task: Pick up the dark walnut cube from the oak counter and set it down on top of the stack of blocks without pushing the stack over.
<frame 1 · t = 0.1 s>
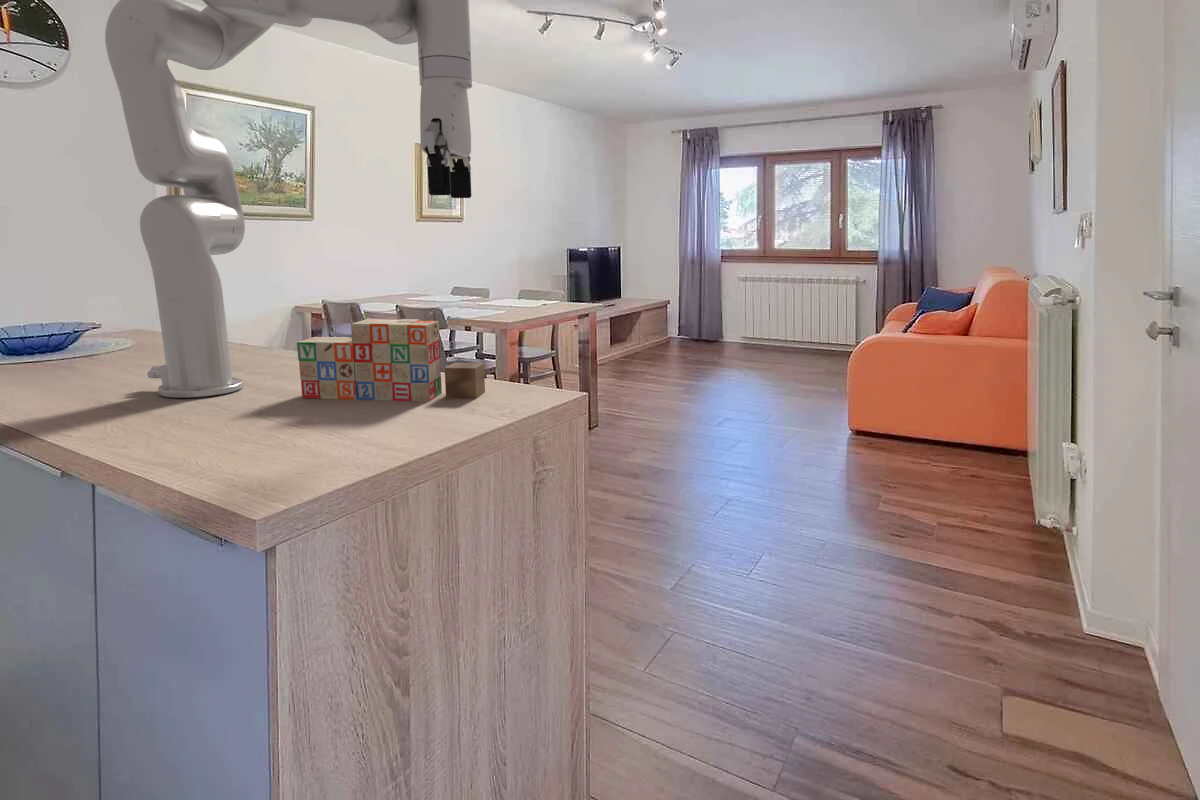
hand: (451, 196, 113), 31 cm above the countertop, fingers open, 9 cm apart
walnut cube: (465, 395, 122), on the countertop
stack of blocks: (373, 397, 121), on the countertop
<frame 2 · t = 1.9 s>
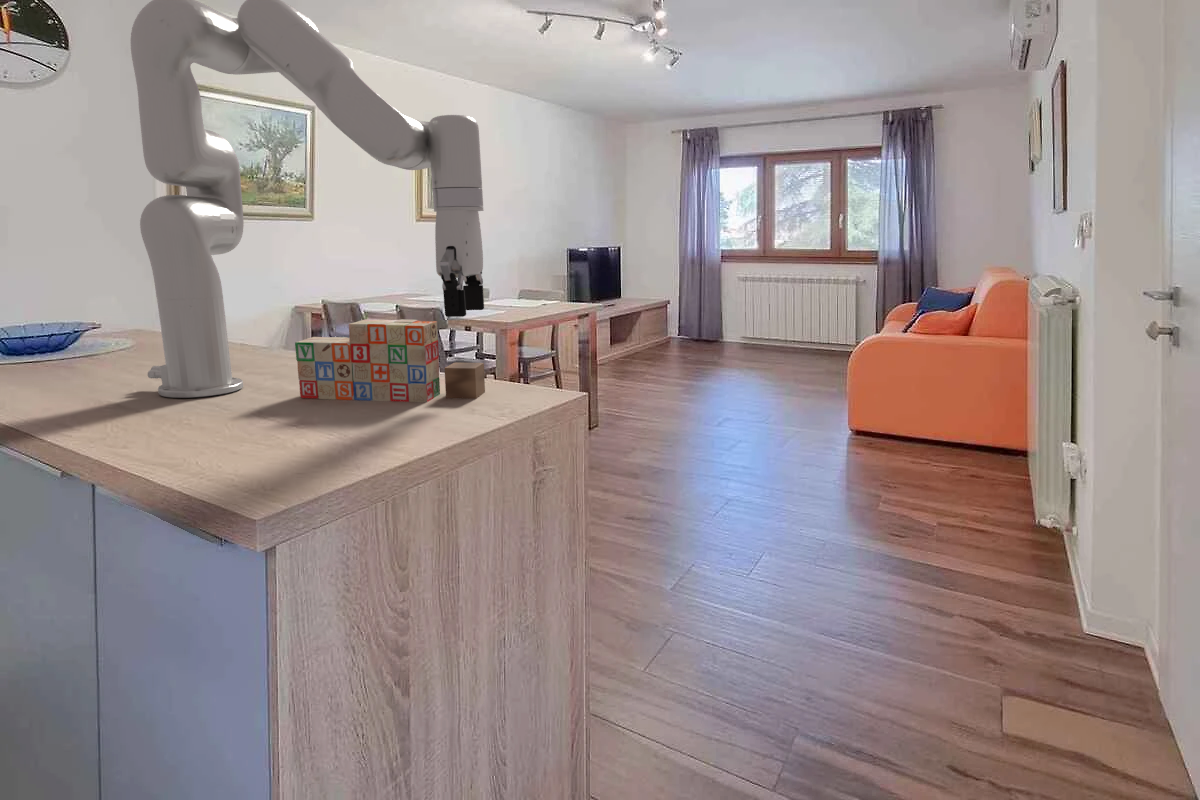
hand: (465, 313, 119), 13 cm above the countertop, fingers open, 9 cm apart
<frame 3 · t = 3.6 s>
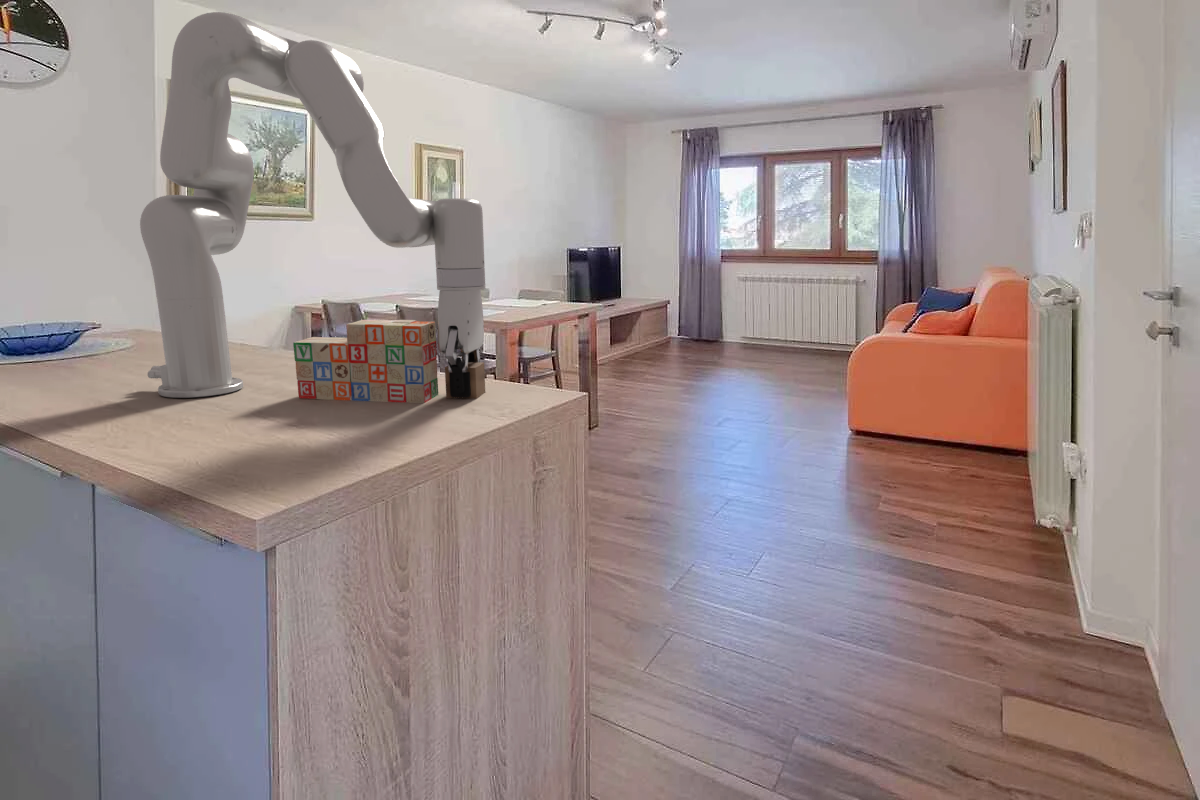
hand: (466, 391, 121), 0 cm above the countertop, fingers closed on walnut cube, 5 cm apart
walnut cube: (466, 395, 122), on the countertop, touching gripper
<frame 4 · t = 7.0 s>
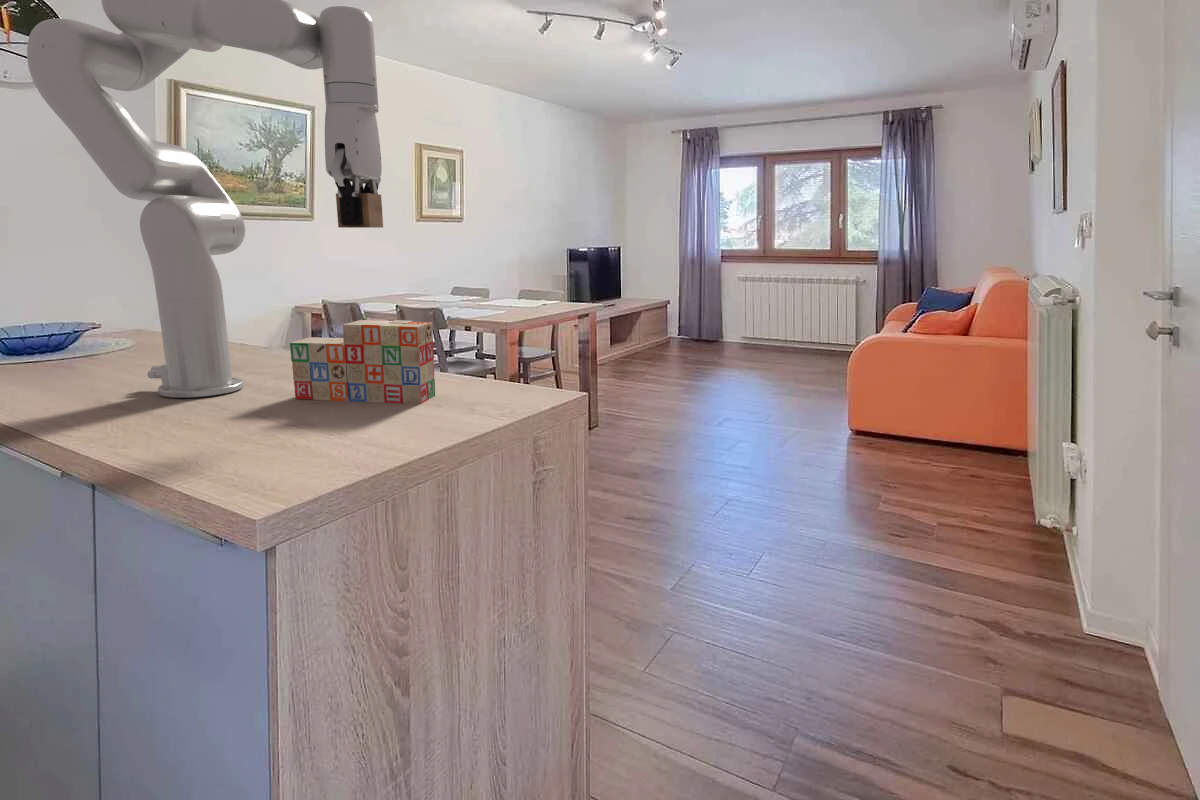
hand: (360, 224, 116), 27 cm above the countertop, fingers closed on walnut cube, 5 cm apart
walnut cube: (361, 227, 116), point 27 cm above the countertop, touching gripper
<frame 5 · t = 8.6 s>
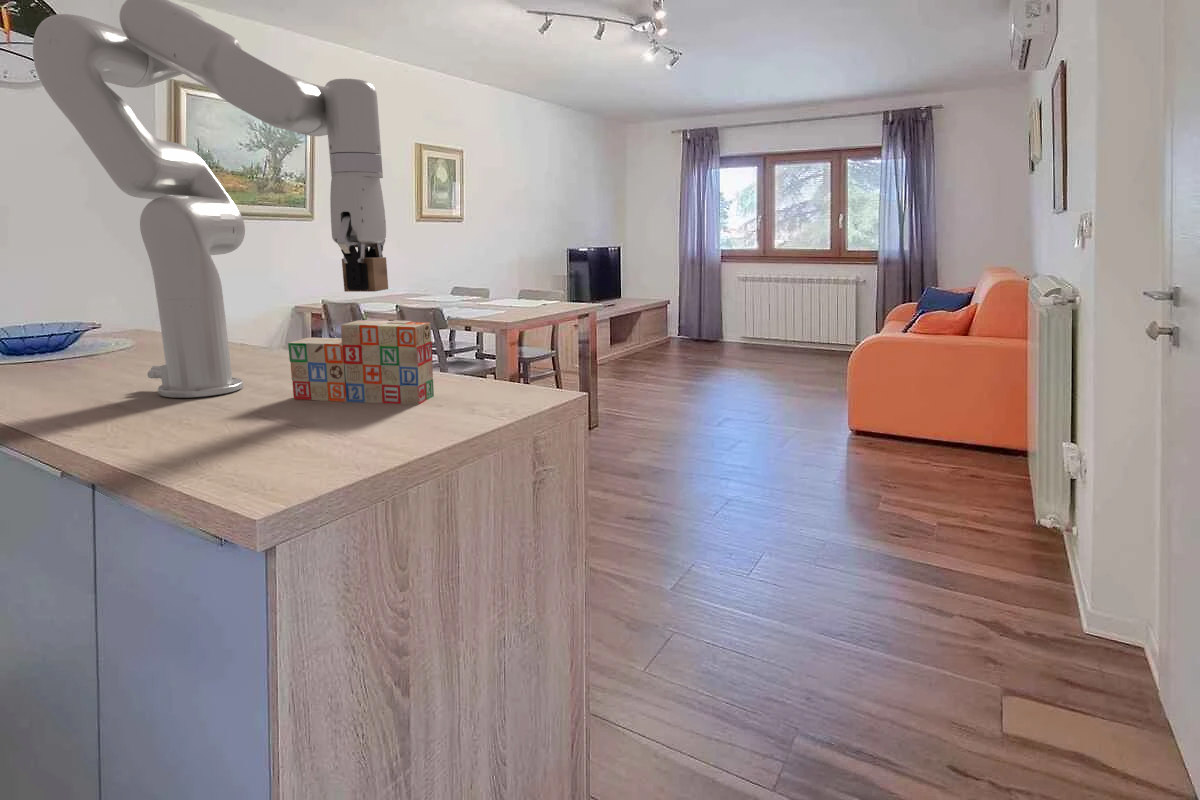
hand: (366, 287, 118), 17 cm above the countertop, fingers closed on walnut cube, 5 cm apart
walnut cube: (366, 290, 118), point 17 cm above the countertop, touching gripper
when the fingers open (14 cm above the countertop, at t = 10.2 s): walnut cube drops 1 cm, resting on stack of blocks.
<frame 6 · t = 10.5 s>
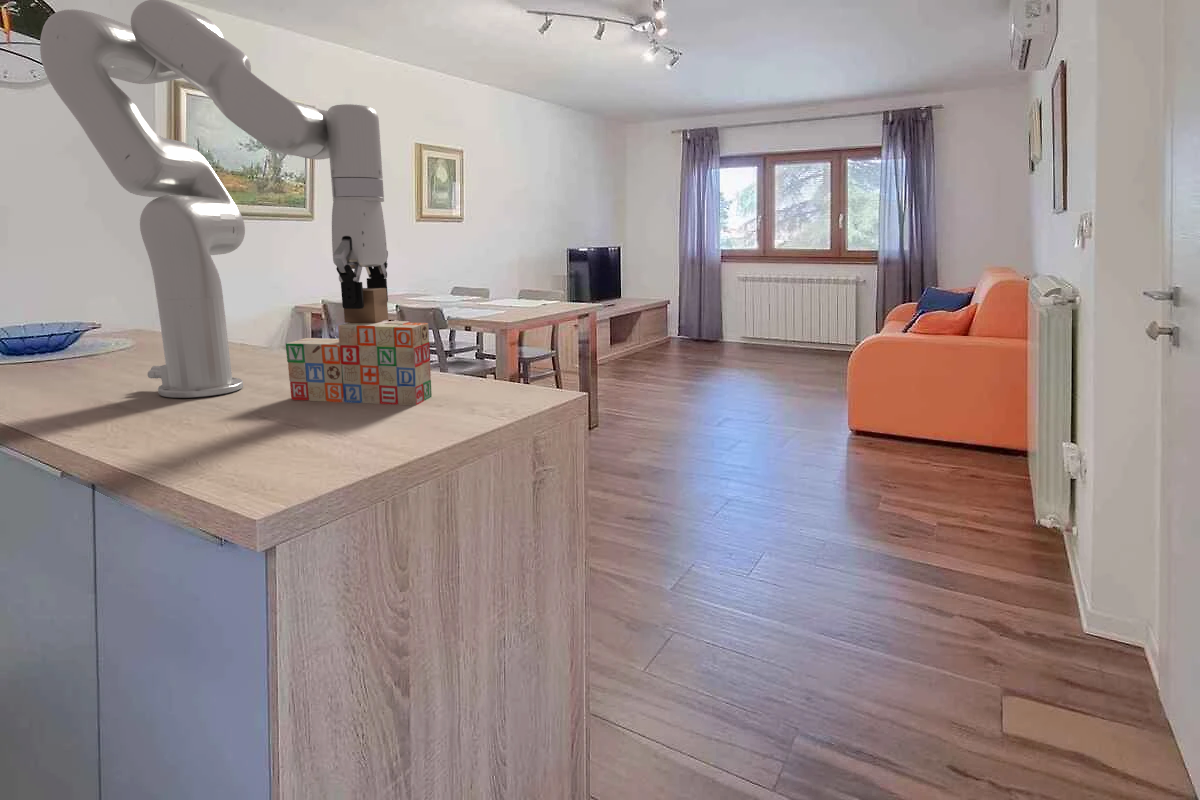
hand: (366, 305, 118), 15 cm above the countertop, fingers open, 8 cm apart
walnut cube: (366, 320, 119), point 12 cm above the countertop, touching stack of blocks
stack of blocks: (362, 400, 120), on the countertop, touching walnut cube
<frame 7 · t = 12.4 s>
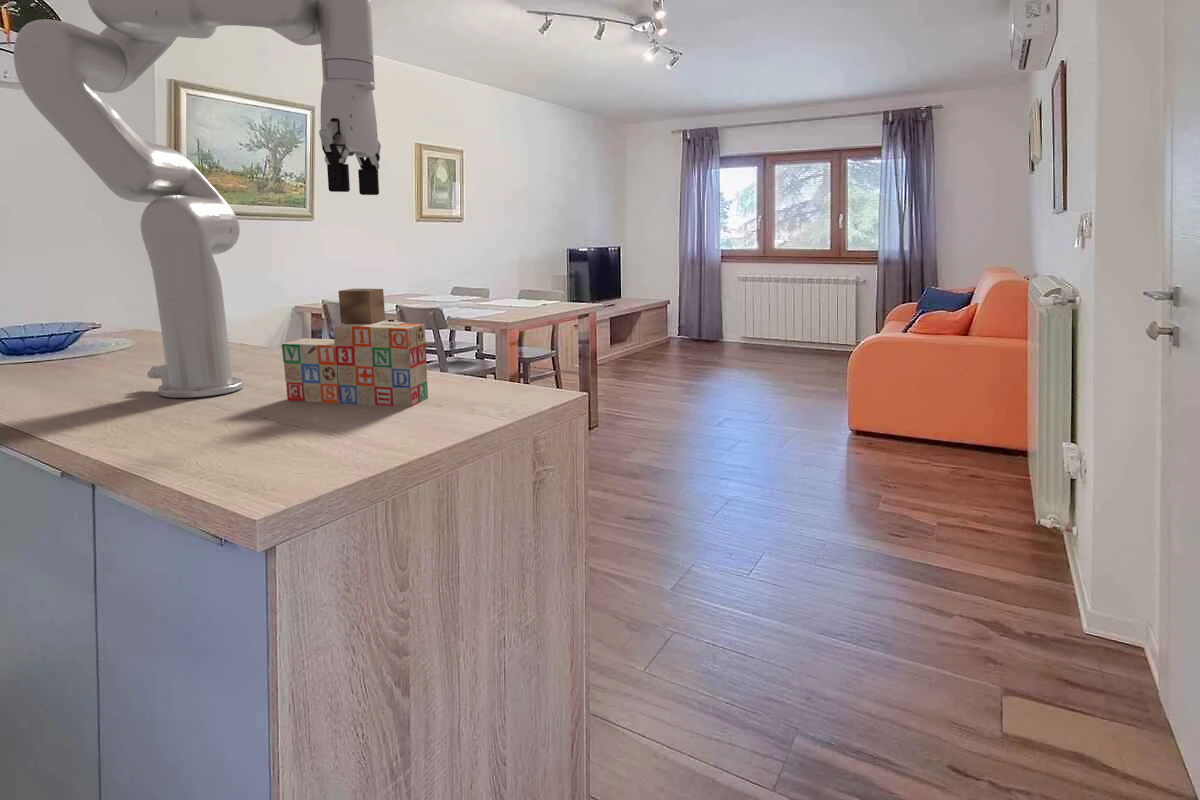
hand: (354, 193, 118), 32 cm above the countertop, fingers open, 9 cm apart
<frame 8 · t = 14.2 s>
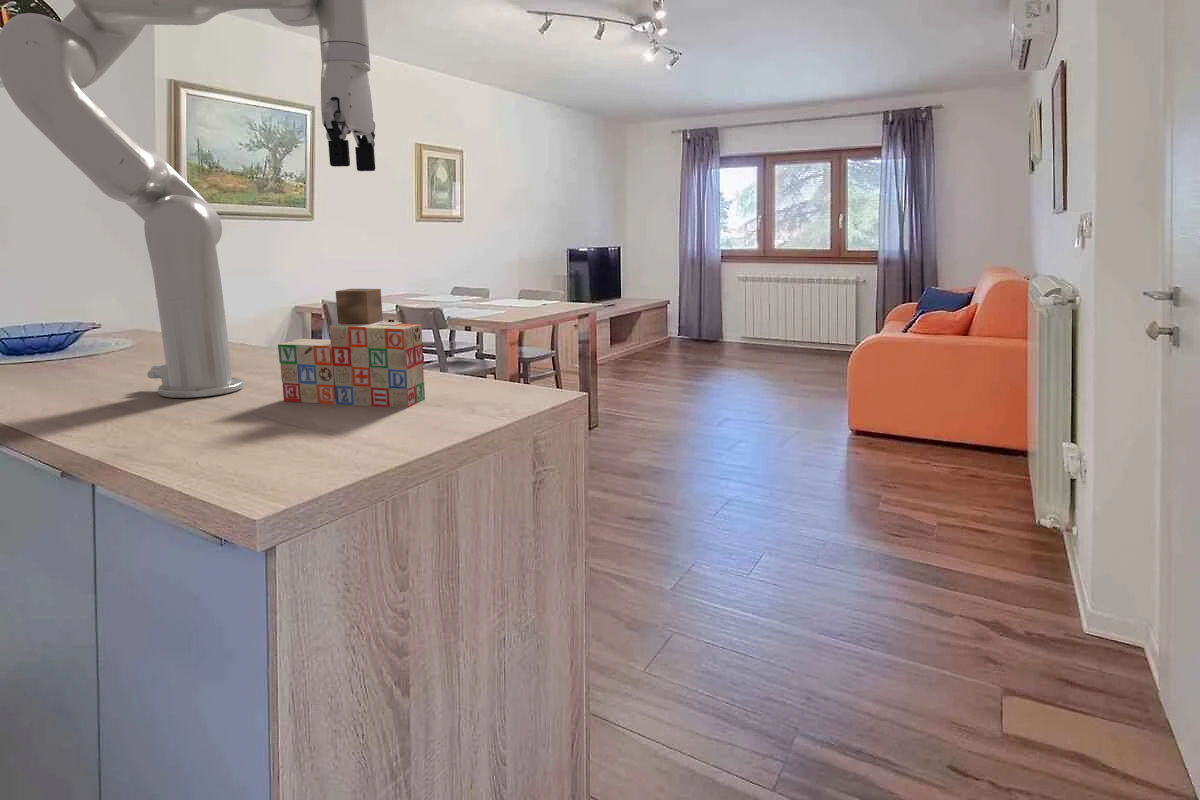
hand: (353, 168, 126), 36 cm above the countertop, fingers open, 9 cm apart
at the end: walnut cube inside the target area in the stack of blocks (2.5 cm from its centre), point 12.5 cm above the stack of blocks's base; walnut cube touching stack of blocks; the gripper is holding nothing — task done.
